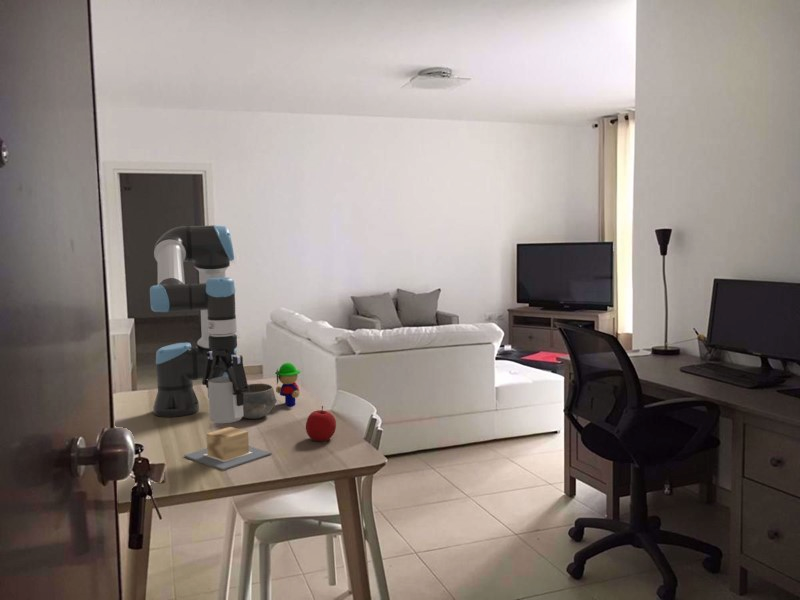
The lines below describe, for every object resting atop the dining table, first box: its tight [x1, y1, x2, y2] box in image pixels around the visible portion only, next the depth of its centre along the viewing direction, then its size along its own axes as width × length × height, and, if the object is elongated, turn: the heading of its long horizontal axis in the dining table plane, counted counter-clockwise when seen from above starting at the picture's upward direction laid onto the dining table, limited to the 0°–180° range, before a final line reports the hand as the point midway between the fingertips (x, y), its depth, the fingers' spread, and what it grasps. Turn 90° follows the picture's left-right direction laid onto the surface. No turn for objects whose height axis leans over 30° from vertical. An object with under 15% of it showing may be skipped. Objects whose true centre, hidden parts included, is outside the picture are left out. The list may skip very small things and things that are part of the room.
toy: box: [275, 362, 301, 407], centre depth 247 cm, size 11×9×15 cm
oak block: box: [206, 426, 249, 460], centre depth 192 cm, size 8×8×6 cm
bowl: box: [242, 383, 278, 420], centre depth 231 cm, size 14×15×10 cm
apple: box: [305, 405, 337, 442], centre depth 205 cm, size 9×9×10 cm
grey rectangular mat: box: [184, 445, 273, 471], centre depth 192 cm, size 18×16×1 cm
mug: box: [208, 377, 243, 424], centre depth 191 cm, size 12×8×11 cm
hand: (226, 413), depth 191 cm, fingers closed on mug, 10 cm apart
